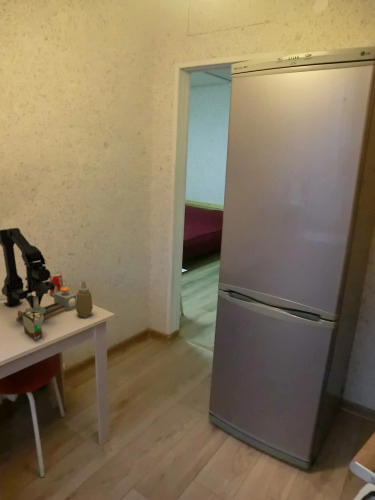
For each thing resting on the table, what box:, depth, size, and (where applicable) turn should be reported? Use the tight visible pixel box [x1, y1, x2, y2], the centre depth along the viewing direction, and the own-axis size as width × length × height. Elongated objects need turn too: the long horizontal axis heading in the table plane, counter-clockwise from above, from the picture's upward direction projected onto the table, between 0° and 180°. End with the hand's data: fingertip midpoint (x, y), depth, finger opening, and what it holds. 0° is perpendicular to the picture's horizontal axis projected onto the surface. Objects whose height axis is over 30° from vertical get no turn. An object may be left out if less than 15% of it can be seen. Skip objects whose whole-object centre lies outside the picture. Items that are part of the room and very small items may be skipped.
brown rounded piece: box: [60, 286, 70, 295], centre depth 179 cm, size 4×4×4 cm
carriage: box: [24, 295, 46, 314], centre depth 165 cm, size 7×6×8 cm
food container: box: [22, 310, 45, 342], centre depth 151 cm, size 12×6×10 cm, turn 48°
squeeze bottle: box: [75, 280, 94, 318], centre depth 170 cm, size 8×8×18 cm
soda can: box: [48, 272, 64, 297], centre depth 194 cm, size 7×7×12 cm
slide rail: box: [15, 302, 67, 326], centre depth 169 cm, size 9×22×4 cm, turn 147°
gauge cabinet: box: [53, 291, 77, 312], centre depth 180 cm, size 10×6×7 cm, turn 57°
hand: (35, 306), depth 165 cm, fingers closed on carriage, 3 cm apart
